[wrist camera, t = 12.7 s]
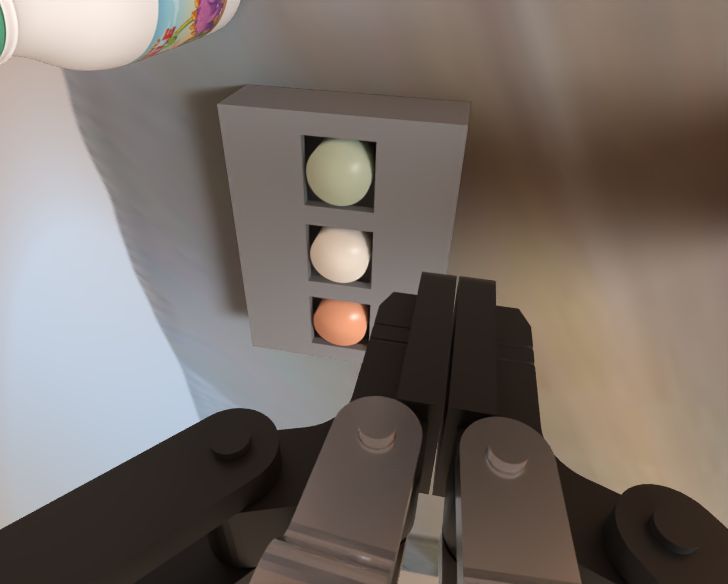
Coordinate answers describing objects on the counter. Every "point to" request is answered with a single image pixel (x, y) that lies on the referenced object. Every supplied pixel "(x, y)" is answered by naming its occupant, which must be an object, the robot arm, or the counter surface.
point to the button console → (309, 213)
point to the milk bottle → (105, 29)
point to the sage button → (342, 170)
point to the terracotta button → (341, 321)
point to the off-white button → (341, 253)
